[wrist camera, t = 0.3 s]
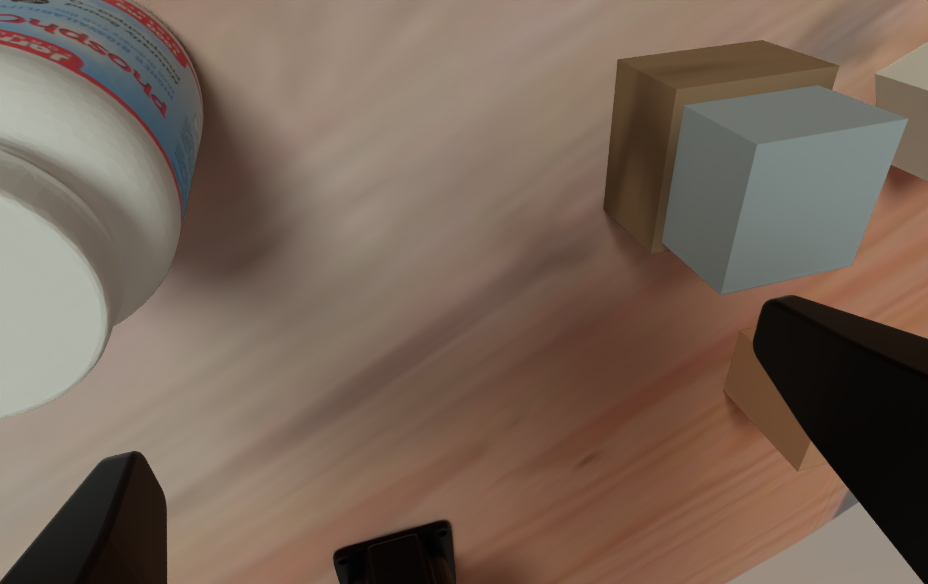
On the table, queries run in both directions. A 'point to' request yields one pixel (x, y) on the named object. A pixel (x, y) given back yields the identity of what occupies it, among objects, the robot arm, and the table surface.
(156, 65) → the pill bottle
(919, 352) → the robot arm
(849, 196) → the slate block
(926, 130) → the cream cube
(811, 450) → the tan block
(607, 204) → the walnut base block
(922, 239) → the table surface
